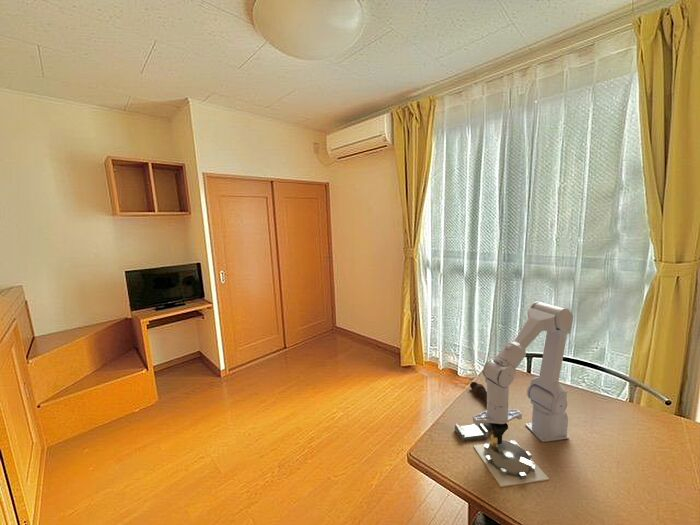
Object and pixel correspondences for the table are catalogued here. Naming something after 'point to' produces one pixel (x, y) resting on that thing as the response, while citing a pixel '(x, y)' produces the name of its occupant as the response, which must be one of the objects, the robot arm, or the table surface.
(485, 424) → the banded grey block
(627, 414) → the table surface
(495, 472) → the board
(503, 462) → the sprocket
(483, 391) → the dark brown lumpy bar
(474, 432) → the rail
